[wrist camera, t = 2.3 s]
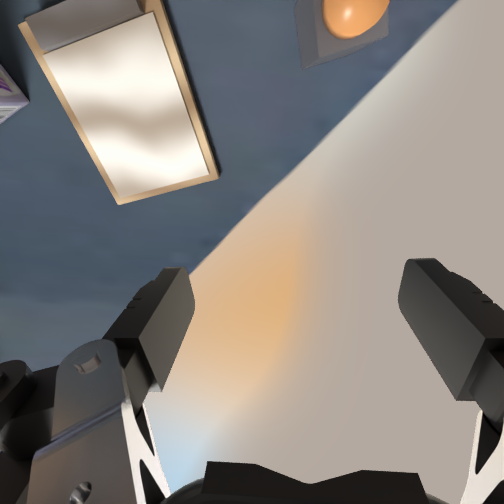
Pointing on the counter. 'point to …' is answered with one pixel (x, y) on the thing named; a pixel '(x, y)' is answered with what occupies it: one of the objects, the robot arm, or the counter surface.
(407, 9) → the counter surface
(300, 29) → the ball-topped gray post
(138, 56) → the clipboard
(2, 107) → the cake pan box
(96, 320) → the counter surface
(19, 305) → the counter surface
